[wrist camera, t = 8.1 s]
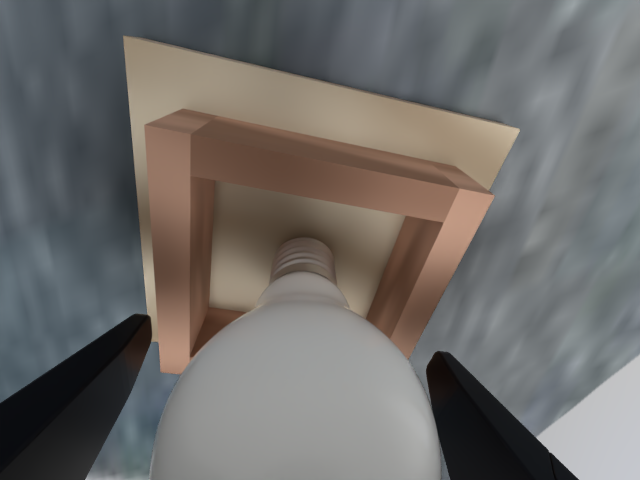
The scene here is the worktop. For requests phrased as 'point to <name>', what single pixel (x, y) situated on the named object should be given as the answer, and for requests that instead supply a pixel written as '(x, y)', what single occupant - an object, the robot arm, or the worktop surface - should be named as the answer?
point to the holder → (295, 191)
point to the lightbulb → (298, 391)
